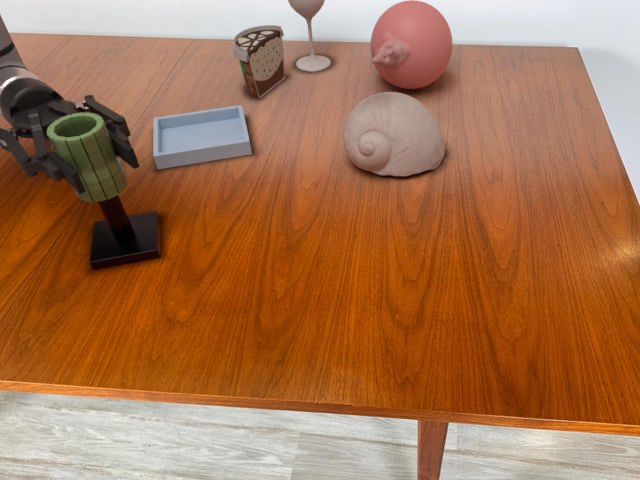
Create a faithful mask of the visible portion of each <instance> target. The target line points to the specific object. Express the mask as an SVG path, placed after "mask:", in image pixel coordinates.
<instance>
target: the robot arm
mask: <svg viewBox="0 0 640 480" xmlns="http://www.w3.org/2000/svg"><path fill="white" fill-rule="evenodd" d="M83 99H84V100H82V101H81V102H78V103H74V101H72V100H66V99H64V97H63V96H62V95H61V94H60V93H59V92H57V91H56V90H55V89H53V87H51V86H50V85H49V84H47V83H46V82H45V81H43V79H41V78H40V77H39V76H38V75H36V74H34V73H33V72H32V71H31V70H29V68H27V67H26V65H25V64H24V62H23V59H22V57H21V55H20V53H19V50H18V48H17V46H16V44H15V43H14V41H13V39H12V36H11V34H10V32H9V30H8V28H7V25H6V24H5V21H4V20H3V17H2V15H1V14H0V116H1V117H2V118H3V119H4V120H5V121H6V122H7V123H8V124H10V125H11V127H10V128H7V129H4V128H1V127H0V148H1V149H2V150H4V151H6V152H8V153H11V155H12V157H13V158H14V159H15V160H16V162H17V163H18V165H19V166H20V167H21V169H22V170H23V172H24V173H25V174H26V176H27V177H28V178H34V177H37V176H38V175H39V172H40V173H41V172H44V174H45V177H46V178H47V179H52V180H53V181H56V182H60V181H61V180H65V182H67V183H68V184H69V185H70V187H73V188H74V189H75V190H76V191H77V192H79V193H80V194H82V193H84V192H86V190H85V188H84V186H83V183H82V181H81V179H80V177H79V175H78V173H77V172H76V171H75V170H74V169H73V168H72V167H71V166H70V165H68V164H67V163H66V162H65V161H64V160H63V159H62V158H60V157H59V156H58V155H57V154H56V153H55V150H52V144H51V142H50V140H49V138H48V136H47V134H46V133H47V129H48V127H49V125H50V124H52V123H53V122H54V121H55V120H58V119H59V118H61V117H64V116H67V115H71V114H74V113H82V112H84V113H85V112H88V113H95V114H96V115H97V114H98V115H99V116H100V117H102V118H103V120H104V122H105V125H106V127H107V130H108V132H109V135H110V137H111V140H112V142H113V145H114V147H115V150H116V152H117V155H118V157H119V159H121V160H122V161H124V162H125V163H126V164H127V165H128V166H129V167H131V168H132V169H134V170H136V169H138V168H140V167H141V165H140V162H139V160H138V158H137V154H136V152H135V150H134V148H133V147H132V144H131V142H130V140H129V139H130V138H129V137H131V135H132V134H131V131H130V129H129V128H130V127H129V126H128V123H127V119H126V118H125V117H124V116H123V115H121V114H119V113H117V112H116V111H114V110H112V109H111V108H109V107H107V106H105V105H103V104H102V103H100V102H99V101H97V100H96V98H95V96H94V95H93V94H86V95H85V96H84V97H83ZM20 138H22V139H31V140H33V146H34V152H35V156H31V157H30V154H28V152H27V151H26V150H25V148H24V146H22V144H21V143H20ZM73 188H72V189H73Z"/></svg>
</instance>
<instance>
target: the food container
mask: <svg viewBox="0 0 640 480" xmlns="http://www.w3.org/2000/svg"><path fill="white" fill-rule="evenodd" d="M283 37H285V34H284V30H283V28H282V26H281V25H275V24H274V25H273V24H272V25H271V24H267V25H257V26H253V27H249V28H246V29H244V30H242V31H240V32H238V33H237V34H236V35H235V36H234V38H233V41H232V42H233V43H232V54H233V55H234V57H235V58H236V59H238V62H239V66H240V68H241V73H242V74H243V79H244V83H245V86H246V90H247V92H248V94H249V95H250V96H251V97H252V98H255V99H258V100H260V99H261V98H262V97H264V96H265V95H267V93H269V92H271V90H273V89H274V88H275V87H276V86H277V85H279V84H280V83H282V81H284V80H285V79H286V67H285V55H284V43H283Z"/></svg>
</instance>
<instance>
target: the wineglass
mask: <svg viewBox="0 0 640 480" xmlns="http://www.w3.org/2000/svg"><path fill="white" fill-rule="evenodd" d="M287 2H288V4H289V6H290V7H291V9H293V10H294V12H295V13H297V14H298V15H299V16H300V17H302V18H304V20H305V21H306V24H307V32H308V43H309V49H310V50H309V51H310V52H309V53H310V54H309V55H306V56H303V57H300V58H299V59H298V60H297V61H296V64H295V66H296V68H297V69H298V70H300V71H302V72H307V73H311V72H312V73H314V72H321V71H325V70H326V69H328V68H329V67H330V66H331V65H332V64H331V63H332V61H331V59H330V58H329V57H327V56H324V55H319V54H317V55H316V54H315V49H314V39H313V28H312V20H313V18H314V17H315V16H317V14H318V13H319V12H320V10H321V9H322V7H323V6H324V4H325V0H287Z"/></svg>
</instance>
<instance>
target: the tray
mask: <svg viewBox="0 0 640 480" xmlns="http://www.w3.org/2000/svg"><path fill="white" fill-rule="evenodd" d="M152 121H153V123H152V124H153V126H152V127H153V129H152V130H153V133H152V135H153V136H152V141H153V142H152V145H153V146H152V148H153V149H152V157H153V160H154V162H155V163H154V164H155V166H156V168H157V170H164V169H171V168H177V167H184V166H188V165H195V164H201V163H207V162H213V161H218V160H225V159H233V158H237V157H243V156H250V155H253V150H252V146H251V142H250V136H249V131H248V126H247V122H246V117H245V113H244V107H243V105H242V104H239V105H231V106H225V107H219V108H217V107H216V108H212V109H204V110H197V111H193V112H192V111H191V112H183V113H177V114H171V115H164V116H157V117H153V120H152Z"/></svg>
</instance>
